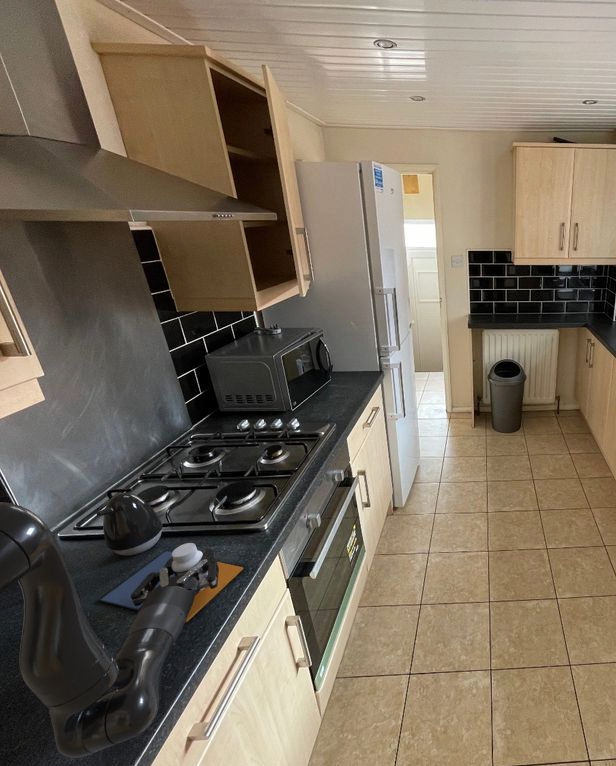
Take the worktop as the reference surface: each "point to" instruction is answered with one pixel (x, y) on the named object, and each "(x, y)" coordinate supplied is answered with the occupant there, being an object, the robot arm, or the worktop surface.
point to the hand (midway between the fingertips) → (192, 555)
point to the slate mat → (136, 583)
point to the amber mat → (207, 593)
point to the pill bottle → (186, 559)
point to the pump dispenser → (130, 524)
